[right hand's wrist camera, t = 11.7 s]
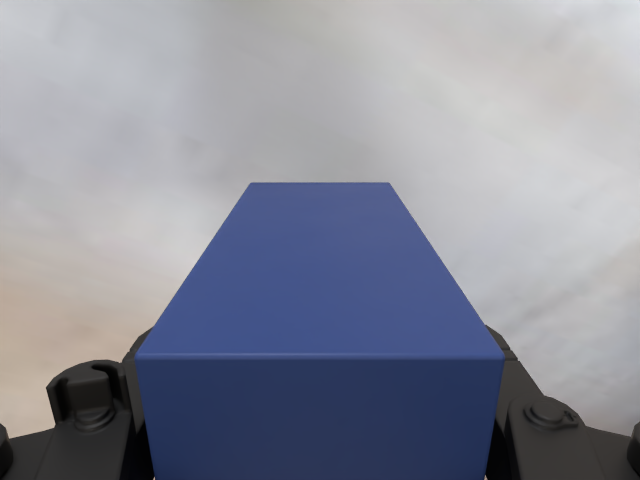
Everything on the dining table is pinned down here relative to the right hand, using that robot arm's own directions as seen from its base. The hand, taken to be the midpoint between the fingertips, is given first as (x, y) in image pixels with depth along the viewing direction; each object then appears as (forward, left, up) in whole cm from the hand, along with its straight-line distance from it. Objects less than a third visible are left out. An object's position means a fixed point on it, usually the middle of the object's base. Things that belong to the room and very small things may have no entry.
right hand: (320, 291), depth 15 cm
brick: (0, 0, -3) cm, 3 cm away
